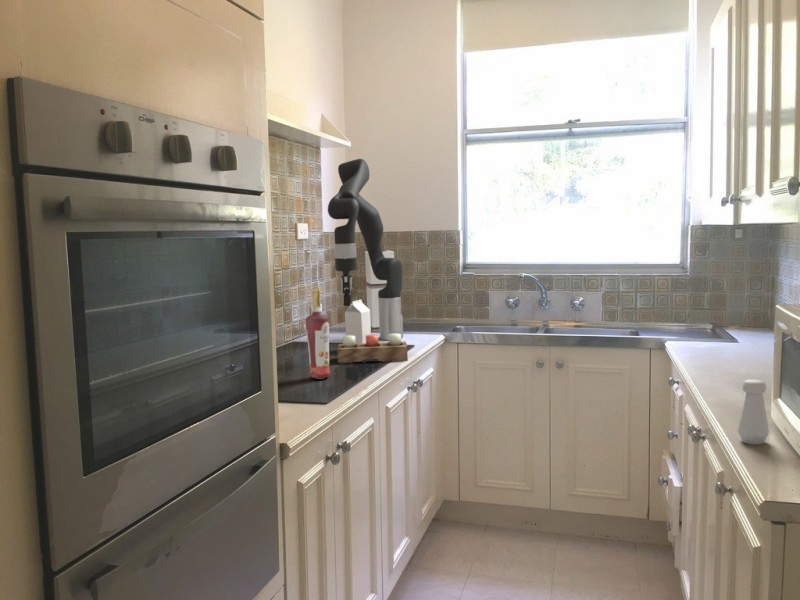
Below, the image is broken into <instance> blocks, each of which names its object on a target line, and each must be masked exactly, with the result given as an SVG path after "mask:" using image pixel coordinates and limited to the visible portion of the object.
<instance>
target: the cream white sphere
mask: <svg viewBox="0 0 800 600" xmlns="http://www.w3.org/2000/svg"><path fill="white" fill-rule="evenodd" d="M388 338H389V340H388V342H389V345H401V342H402V338H401V334H398V333H393V334H388Z"/></svg>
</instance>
